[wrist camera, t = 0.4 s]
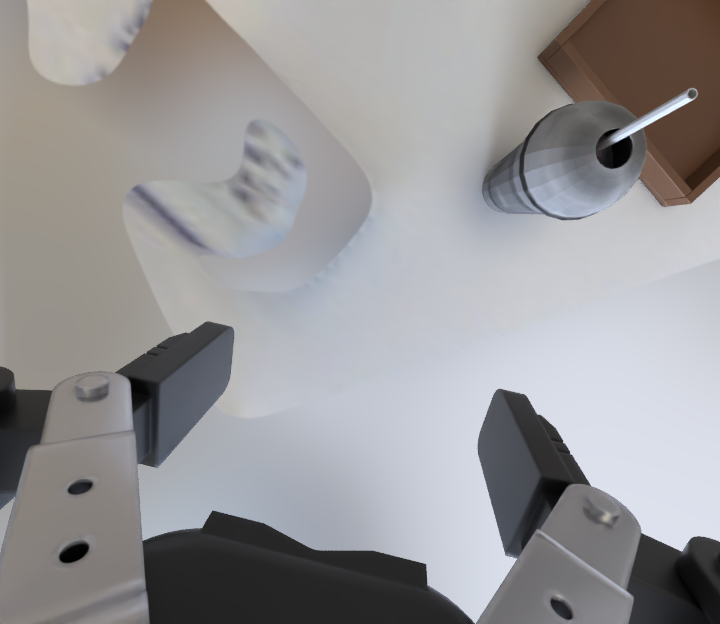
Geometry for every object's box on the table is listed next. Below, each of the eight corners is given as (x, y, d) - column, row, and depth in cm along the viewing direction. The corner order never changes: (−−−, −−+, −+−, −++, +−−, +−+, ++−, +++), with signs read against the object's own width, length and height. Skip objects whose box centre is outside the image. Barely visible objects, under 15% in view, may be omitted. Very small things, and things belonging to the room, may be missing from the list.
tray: (537, 57, 34) (554, 39, 31) (666, -77, 32) (698, -111, 29) (663, 207, 37) (690, 203, 34) (789, 89, 35) (831, 75, 32)
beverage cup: (462, 222, 37) (585, 199, 17) (474, 142, 35) (623, 18, 16) (535, 231, 37) (741, 218, 17) (551, 152, 36) (792, 41, 16)
